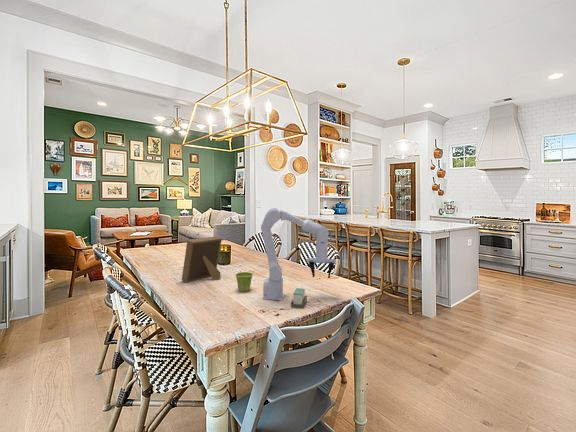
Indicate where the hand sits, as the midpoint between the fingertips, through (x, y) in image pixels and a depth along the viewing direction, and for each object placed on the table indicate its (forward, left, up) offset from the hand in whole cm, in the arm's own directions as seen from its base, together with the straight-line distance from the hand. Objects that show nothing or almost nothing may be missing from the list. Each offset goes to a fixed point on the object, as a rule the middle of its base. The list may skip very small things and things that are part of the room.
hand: (321, 277), depth 149 cm
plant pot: (-41, +1, -10) cm, 42 cm away
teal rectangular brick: (-9, -12, -9) cm, 18 cm away
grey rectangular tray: (-9, -12, -10) cm, 18 cm away
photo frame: (-71, +15, -10) cm, 73 cm away
